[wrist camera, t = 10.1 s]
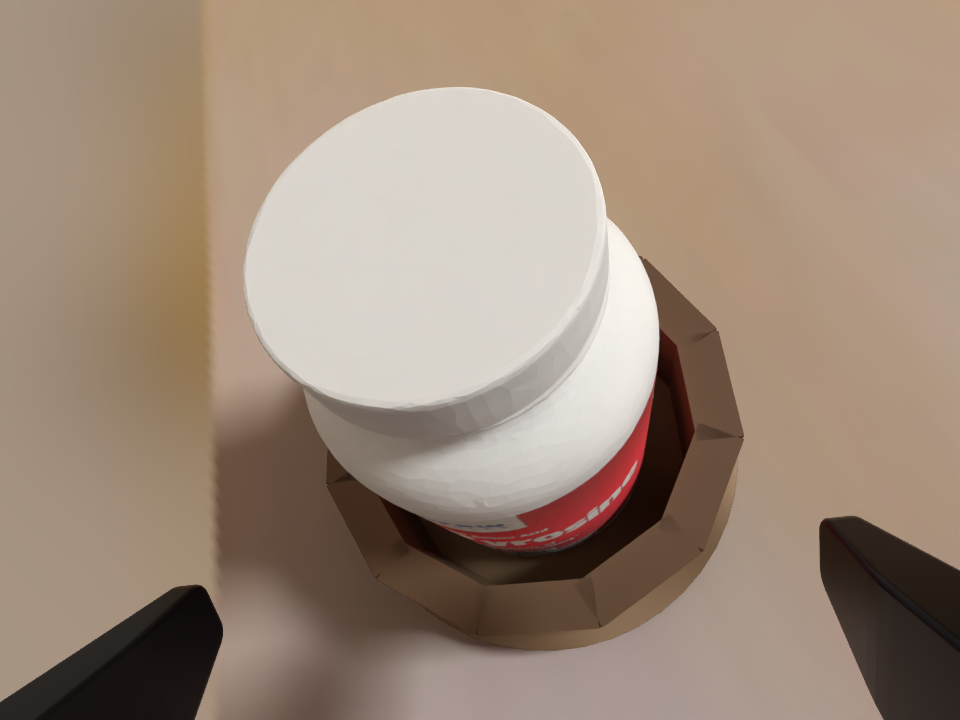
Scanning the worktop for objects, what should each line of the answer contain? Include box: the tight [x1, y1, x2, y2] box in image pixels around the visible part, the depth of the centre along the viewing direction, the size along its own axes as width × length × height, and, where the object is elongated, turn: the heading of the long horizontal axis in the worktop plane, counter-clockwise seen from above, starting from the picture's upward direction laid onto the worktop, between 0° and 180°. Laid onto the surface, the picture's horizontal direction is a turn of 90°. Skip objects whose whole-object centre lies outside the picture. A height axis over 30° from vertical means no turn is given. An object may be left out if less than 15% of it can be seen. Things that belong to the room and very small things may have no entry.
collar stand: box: [326, 256, 744, 651], centre depth 16 cm, size 11×11×4 cm
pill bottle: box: [243, 87, 659, 556], centre depth 12 cm, size 6×6×11 cm
